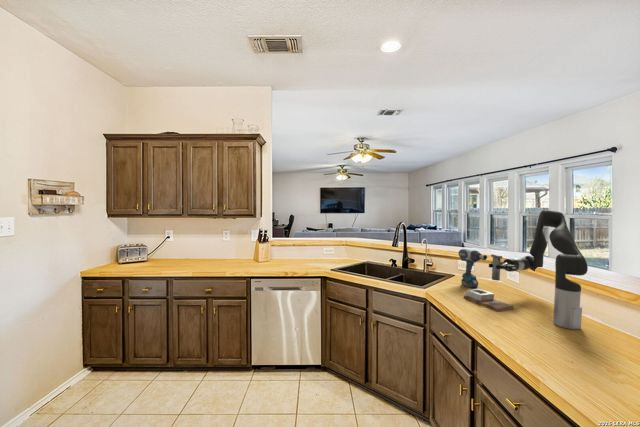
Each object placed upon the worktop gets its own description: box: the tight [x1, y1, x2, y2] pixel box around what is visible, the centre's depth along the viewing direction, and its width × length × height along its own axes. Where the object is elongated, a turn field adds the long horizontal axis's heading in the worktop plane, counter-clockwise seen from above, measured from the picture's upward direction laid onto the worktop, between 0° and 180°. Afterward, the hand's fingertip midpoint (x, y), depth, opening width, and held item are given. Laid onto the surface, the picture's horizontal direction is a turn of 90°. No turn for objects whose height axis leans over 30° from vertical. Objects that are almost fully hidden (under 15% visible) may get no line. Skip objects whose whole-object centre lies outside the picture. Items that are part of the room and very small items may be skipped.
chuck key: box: [490, 254, 503, 281], centre depth 173 cm, size 7×4×14 cm, turn 20°
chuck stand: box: [462, 288, 515, 312], centre depth 166 cm, size 22×12×5 cm, turn 21°
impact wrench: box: [458, 248, 488, 289], centre depth 199 cm, size 8×22×25 cm, turn 15°
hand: (492, 266), depth 172 cm, fingers closed on chuck key, 4 cm apart
